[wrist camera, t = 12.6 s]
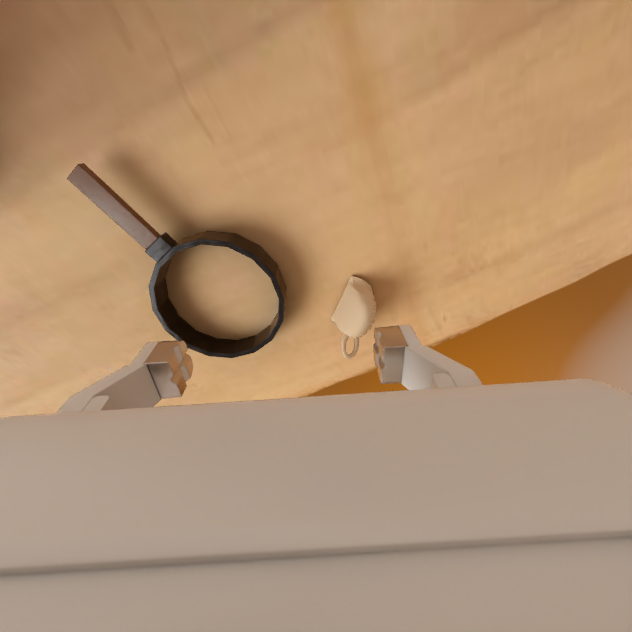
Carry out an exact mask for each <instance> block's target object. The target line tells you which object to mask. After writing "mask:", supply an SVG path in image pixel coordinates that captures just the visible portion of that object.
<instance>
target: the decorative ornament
mask: <svg viewBox="0 0 632 632" xmlns="http://www.w3.org/2000/svg"><path fill="white" fill-rule="evenodd" d="M373 294H374V293H373V292H372V287H371V285H369V284H368V283H367V282H366V281H365V280H363V279H360V278H358V277H355V276H351V278H350V280H349V282H348V284H347V286H346V288H345V291H344V293H343V295H342V297H341V299H340V302H339V304H338V306H337V308H336V310H335V312H334V313H333V315H332V317H331V321H333V322H334V323H336V325H337V327H338V328H339V330H340V331H341V332H342V333H343V334H344V335H343V338H342V342H341V350H342V353H343V355H344V357H345V358H348V359H350V358H352V357H354V356H355V354H356V353H357V350H358V347H359V337H361V336H362V335H364V334H366V332H367V331H368V330H369V329H371V324H373V323H374V318H375V316H376V313H375V312H376V311H377V308H376V302H375V300H374V299H375V297H374V296H373ZM348 337H350V338H354V349H353V351H352V353H351V354H349V355H348V354H347V352H346V341H347V339H348Z"/></svg>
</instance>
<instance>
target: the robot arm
mask: <svg viewBox="0 0 632 632" xmlns="http://www.w3.org/2000/svg"><path fill="white" fill-rule="evenodd" d="M374 338H375V344H374V345H373V352H374V361H375V365H376V366H377V367H378V375H379V378H380V381H381V384H383V383H402V384H403V385H404V386H405V387H406V388H407V389H408V390H404V391H389V392H374V393H359V394H343V395H328V396H313V397H298V398H283V399H268V400H253V401H237V402H222V403H207V404H192V405H177V406H162V407H153V406H154V405H156V404H157V403H158V402H159V401H160V400H161V399H163V398H174V397H182V394H183V392H184V390H185V388H186V386H187V385H186V381H187V380H188V379H190V377H191V375H192V370H193V364H192V359H191V357H190V356H189V355H188V354H186V352H187V350H188V347H187V345H186V342H185V341H183V340H182V341H161V342H149V343H146V344H145V346H144V347H143V348H142V350H141V351H140V352H139V354H138V355H137V356H136V358H135V359H134V360H133V362H132V363H131V364H130V365H127V366H125V367H123V368H121V369H119V370H117V371H116V372H114V373H112V374H110V375H108V376H107V377H105V378H103V379H101V380H100V381H98V382H96V383H94V384H92V385H91V386H89V387H87V388H85V389H84V390H82V391H80V392H78V393H76V394H75V395H73V396H71V397H70V398H69V399H68V400H67V401H66V402H65V404H64V405H63V406H62V407H61V408H60V409H59V410H58V411H57V413H55V414H40V415H25V416H9V417H0V632H632V393H629V392H627V391H624V390H622V389H619V388H617V387H614V386H612V385H609V384H607V383H604V382H601V381H598V380H593V379H570V380H557V381H542V382H527V383H512V384H497V385H483V384H482V383H481V381H480V380H479V379H478V377H477V376H476V374H475V373H474V371H473V370H471V369H469V368H467V367H465V366H463V365H462V364H460V363H458V362H456V361H454V360H452V359H450V358H448V357H446V356H444V355H442V354H441V353H439V352H437V351H435V350H433V349H431V348H429V347H427V346H422V345H421V343H420V341H419V339H418V337H417V336H416V334H415V332H414V330H413V328H412V326H411V325H400V326H390V327H379V328H374Z"/></svg>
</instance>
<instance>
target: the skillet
mask: <svg viewBox="0 0 632 632" xmlns="http://www.w3.org/2000/svg"><path fill="white" fill-rule="evenodd" d="M67 179H68V180H69V181H70V182H71V183H72V184H73V185H75V186H76V187H77V188H78V189H79V190H80V191H81V192H82V193H83V194H85V195H86V196H87V197H88V198H89V199H90V200H91V201H92V202H94V203H95V204H96V205H97V206H98V207H99V208H100V209H101V210H102V211H104V212H105V213H106V214H107V215H108V216H109V217H110V218H111V219H112V220H114V221H115V222H116V223H117V224H118V225H119V226H120V227H121V228H122V229H124V230H125V231H126V232H127V233H128V234H129V235H130V236H131V237H133V238H134V239H135V240H136V241H137V242H138V243H139V244H140V245H141V246H143V247H144V248H145V249H147V250H146V251H145V252H146V253H147V254H148V255H149V256H151V257H152V258H153V259H154V260H155V261H156V262H157V263H156V265H155V268H154V271H153V274H152V277H151V281H150V284H149V291H150V297H151V303H152V308H153V311H154V313H155V314H156V316H157V318H158V319H159V321H160V322H161V324H162V326H163V327H164V329H165V330H166V331H167V332H168V333H169V334H170V335H172V336H173V337H174V338H175V339H177V340H178V341H182V340H183V341H185V342H186V345H187V347H188V348H190V349H192V350H195V351H197V352H200V353H203V354H205V355H208V356H215V357H227V358H234V357H238V356H242V355H246V354H250V353H254V352H256V351H257V350H259V349H260V348H262V347H263V346H264V345H266V344H267V343H268V342H270V341H271V340H272V339H273V338H274V336H275V334H276V333H277V331H278V329H279V327H280V325H281V324H282V322H283V318H284V312H285V302H286V285H285V282H284V280H283V277H282V275H281V272H280V269H279V267H278V265H277V264H276V262H275V261H274V260H273V259H272V258H271V257H270V256H269V255H268V254H267V253H266V252H265V251H264V249H263V248H262V247H261V246H259V245H257V244H256V243H254V242H252V241H250V240H248V239H246V238H244V237H242V236H240V235H238V234H235V233H226V232H216V231H205V232H202V233H199V234H196V235H193V236H190V237H186V238H184V239H182V240H181V241H180V242H179V243H177V242H176V241H175V240H173V239H172V238H171V237H170V236H169V235H168V234H167V233H164V234H163V235H160V234H159V233H158V232H157V231H155V230H154V229H153V228H152V227H151V226H150V225H149V224H148V223H147V222H146V221H145V220H144V219H143V218H142V217H141V216H140V215H138V214H137V213H136V212H135V211H134V210H133V209H132V208H131V207H130V206H129V205H128V204H127V203H126V202H125V201H124V200H122V199H121V198H120V197H119V196H118V195H117V194H116V193H115V192H114V191H113V190H112V189H111V188H110V187H109V186H108V185H106V184H105V183H104V182H103V181H102V180H101V179H100V178H99V177H98V176H97V175H96V174H95V173H94V172H93V171H92V170H90V169H89V168H88V167H87V166H86V165H85V164H84V163H83V164H78V165H77V166H76V167H75V169H74V170H73V171H72V173H71V174H70V175H69V176H68V178H67ZM201 244H203V245H213V246H224V247H229V248H231V249H233V250H235V251H237V252H239V253H241V254H243V255H245V256H247V257H250V258H252V259H253V260H254V261H255V262H256V263H257V264H258V265H259V266H260V267H261V268H262V269H263V270H264V272H265V273H266V274H267V275H268V276H269V277H270V278H271V280H272V283H273V285H274V288H275V290H276V293H277V295H278V298H279V309H278V313H277V315H276V317H275V318H274V320H273V322H272V324H271V325H269V326H268V327H267V328H265V329H264V330H263V331H261V332H260V333H259V334H257V335H255V336H251V337H248V338H244V339H240V340H229V339H217V338H214V337H211V336H209V335H207V334H204V333H202V332H199V331H197V330H195V329H194V328H193V327H192V326H190V325H189V324H188V323H187V322H186V321H185V320H183V319H182V318H181V317H180V316H179V315H178V313H177V311H176V310H175V308H174V306H173V304H172V303H171V301H170V299H169V298H168V291H167V284H166V274H167V271H168V268H169V265H170V262H171V259H172V257H173V256H174V255H175V254H176V253H177V252H178V251H181V250H184V249H188V248H191V247H194V246H197V245H201Z"/></svg>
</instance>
